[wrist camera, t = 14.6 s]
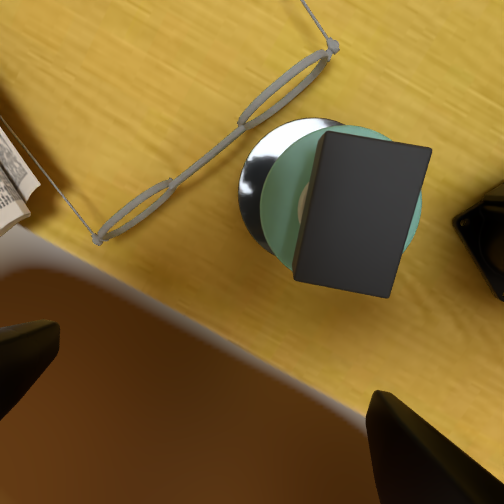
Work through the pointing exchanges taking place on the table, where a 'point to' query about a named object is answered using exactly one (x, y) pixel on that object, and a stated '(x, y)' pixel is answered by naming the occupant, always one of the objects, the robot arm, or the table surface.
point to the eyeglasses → (242, 127)
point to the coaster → (263, 162)
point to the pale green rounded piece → (344, 207)
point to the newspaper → (13, 185)
